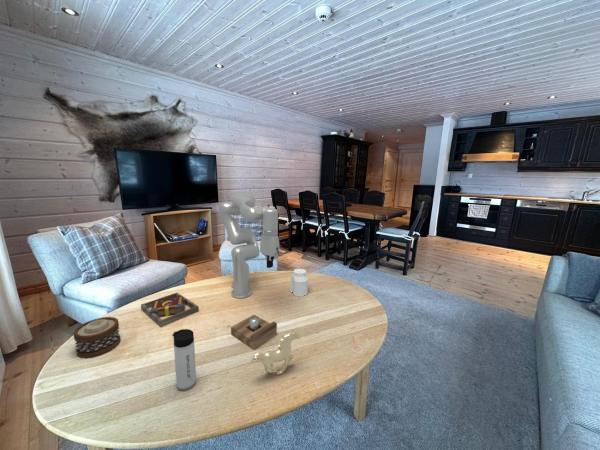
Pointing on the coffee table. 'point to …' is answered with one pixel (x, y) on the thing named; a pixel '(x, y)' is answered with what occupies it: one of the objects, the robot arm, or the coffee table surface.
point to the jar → (299, 282)
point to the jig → (256, 337)
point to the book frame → (171, 319)
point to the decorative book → (168, 306)
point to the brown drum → (97, 337)
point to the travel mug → (184, 359)
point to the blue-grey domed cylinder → (253, 324)
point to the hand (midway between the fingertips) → (269, 267)
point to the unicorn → (277, 354)
